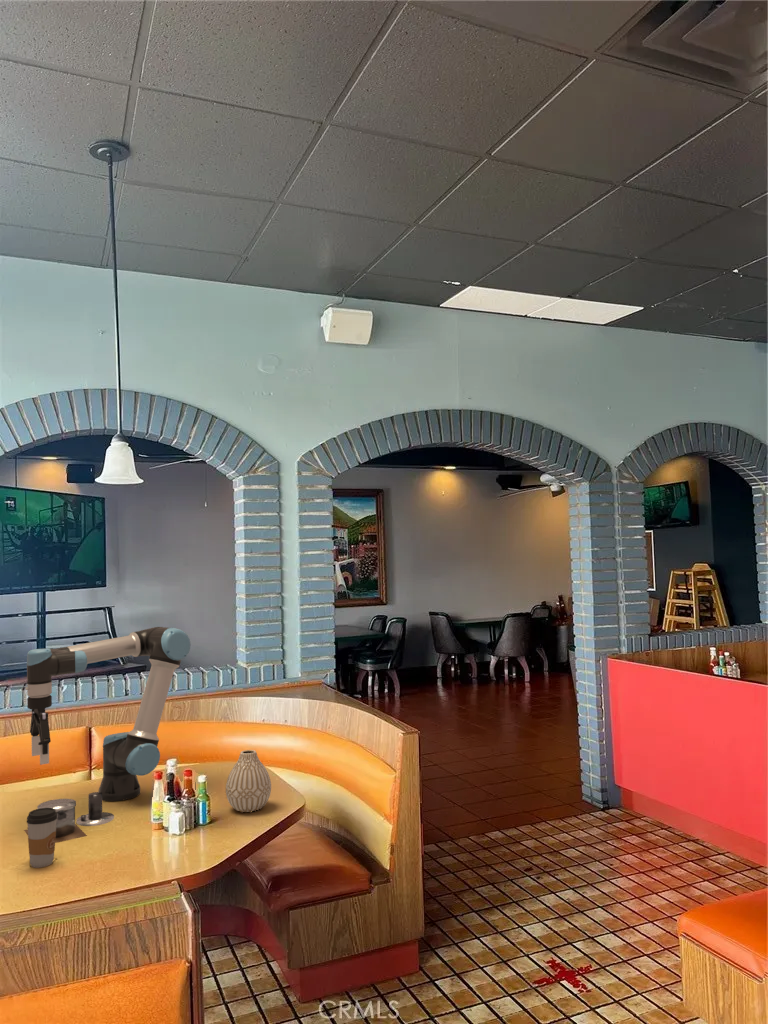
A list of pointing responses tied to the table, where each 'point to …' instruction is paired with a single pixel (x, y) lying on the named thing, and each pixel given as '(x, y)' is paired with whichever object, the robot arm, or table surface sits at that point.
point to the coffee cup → (41, 836)
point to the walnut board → (75, 834)
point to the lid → (95, 812)
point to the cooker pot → (62, 815)
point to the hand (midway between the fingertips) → (40, 759)
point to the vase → (248, 783)
